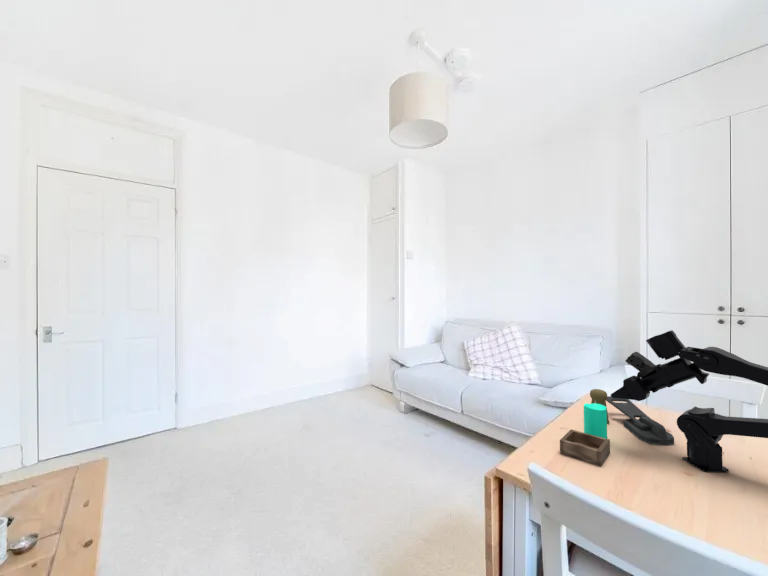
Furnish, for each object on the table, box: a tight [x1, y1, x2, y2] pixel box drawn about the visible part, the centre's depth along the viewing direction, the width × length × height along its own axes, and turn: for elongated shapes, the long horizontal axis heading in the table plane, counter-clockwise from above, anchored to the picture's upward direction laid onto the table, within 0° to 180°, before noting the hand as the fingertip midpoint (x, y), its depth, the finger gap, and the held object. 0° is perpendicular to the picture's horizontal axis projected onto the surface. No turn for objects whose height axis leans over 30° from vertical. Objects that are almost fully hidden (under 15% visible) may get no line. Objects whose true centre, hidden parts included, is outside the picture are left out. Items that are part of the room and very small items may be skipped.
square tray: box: [559, 428, 611, 467], centre depth 94 cm, size 10×10×4 cm
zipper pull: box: [606, 395, 675, 447], centre depth 110 cm, size 9×7×25 cm
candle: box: [583, 402, 608, 439], centre depth 102 cm, size 6×6×12 cm
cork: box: [589, 388, 610, 425], centre depth 116 cm, size 6×6×11 cm
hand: (616, 393), depth 102 cm, fingers open, 9 cm apart
